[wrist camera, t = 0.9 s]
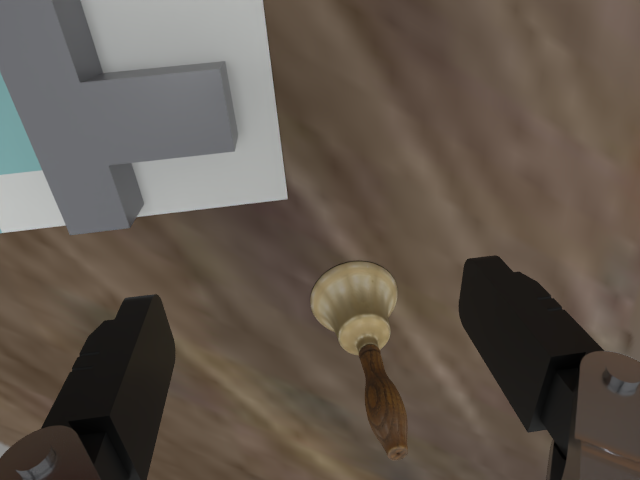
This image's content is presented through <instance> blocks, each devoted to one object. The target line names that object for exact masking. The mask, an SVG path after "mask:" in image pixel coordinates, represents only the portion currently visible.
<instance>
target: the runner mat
mask: <svg viewBox="0 0 640 480" xmlns="http://www.w3.org/2000/svg"><path fill="white" fill-rule="evenodd" d="M80 1H81V4H82V7H83V11H84V14H85V17H86V20H87V23H88V26H89V30H90V33H91V36H92V39H93V42H94V46H95V49H96V52H97V55H98V58H99V61H100V65H101V68H102V71H103V73H109V72H119V71H129V70H139V69H150V68H160V67H170V66H180V65H191V64H201V63H211V62H221V61H225V63H226V68H227V74H228V80H229V86H230V91H231V97H232V103H233V108H234V114H235V120H236V125H237V131H238V139H237V143H236V148H235V152H226V153H217V154H208V155H199V156H190V157H181V158H172V159H163V160H154V161H145V162H136V163H132V166H133V170H134V173H135V176H136V179H137V182H138V186H139V189H140V192H141V195H142V198H143V201H144V205H143V207H142V209H141V210H140V212H139V214H138V215H137V217H141V216H149V215H158V214H166V213H174V212H183V211H191V210H200V209H208V208H217V207H225V206H234V205H242V204H250V203H259V202H267V201H276V200H284V199H288V196H287V188H286V180H285V172H284V164H283V157H282V149H281V141H280V133H279V125H278V117H277V109H276V101H275V93H274V85H273V78H272V70H271V62H270V54H269V46H268V38H267V30H266V22H265V14H264V6H263V0H80ZM65 225H66V224H65V222H64V220H63V217H62V215H61V213H60V210H59V208H58V206H57V203H56V201H55V199H54V196H53V194H52V192H51V189H50V187H49V185H48V182H47V180H46V178H45V175H44V173H43V171H42V170H40V171H31V172H22V173H13V174H4V175H0V229H1V231H2V233H6V232H14V231H22V230H31V229H39V228H48V227H56V226H65Z"/></svg>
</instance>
